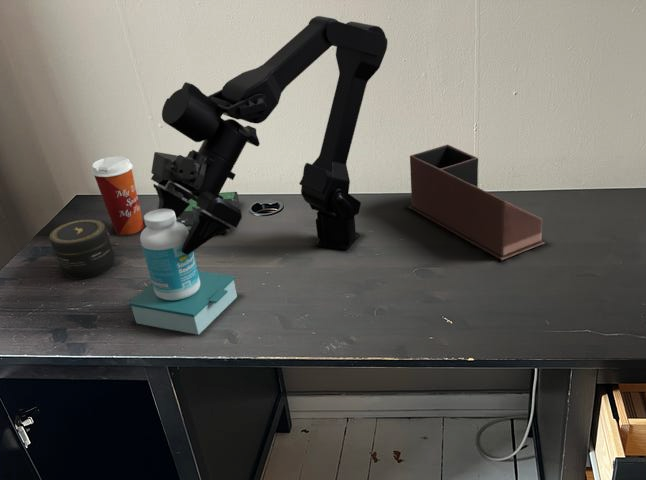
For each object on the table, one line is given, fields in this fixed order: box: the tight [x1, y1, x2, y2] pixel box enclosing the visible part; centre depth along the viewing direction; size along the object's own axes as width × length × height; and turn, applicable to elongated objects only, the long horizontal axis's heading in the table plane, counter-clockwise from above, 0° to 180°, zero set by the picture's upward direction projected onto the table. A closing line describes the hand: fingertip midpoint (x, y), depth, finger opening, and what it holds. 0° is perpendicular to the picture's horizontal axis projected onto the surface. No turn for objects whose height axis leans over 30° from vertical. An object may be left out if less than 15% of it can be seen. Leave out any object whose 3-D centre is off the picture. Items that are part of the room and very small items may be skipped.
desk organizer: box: [408, 144, 546, 261], centre depth 140 cm, size 10×29×11 cm, turn 34°
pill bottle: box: [139, 208, 200, 300], centre depth 116 cm, size 8×7×14 cm
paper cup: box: [91, 155, 144, 236], centre depth 145 cm, size 8×8×14 cm
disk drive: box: [176, 191, 240, 235], centre depth 151 cm, size 10×3×15 cm
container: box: [128, 270, 238, 336], centre depth 122 cm, size 14×12×4 cm
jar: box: [48, 219, 115, 280], centre depth 134 cm, size 10×10×8 cm
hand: (170, 243), depth 116 cm, fingers open, 9 cm apart
